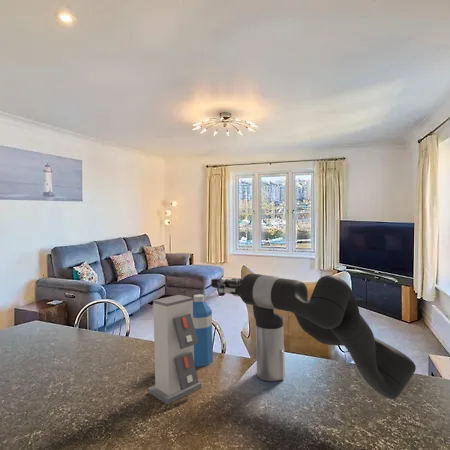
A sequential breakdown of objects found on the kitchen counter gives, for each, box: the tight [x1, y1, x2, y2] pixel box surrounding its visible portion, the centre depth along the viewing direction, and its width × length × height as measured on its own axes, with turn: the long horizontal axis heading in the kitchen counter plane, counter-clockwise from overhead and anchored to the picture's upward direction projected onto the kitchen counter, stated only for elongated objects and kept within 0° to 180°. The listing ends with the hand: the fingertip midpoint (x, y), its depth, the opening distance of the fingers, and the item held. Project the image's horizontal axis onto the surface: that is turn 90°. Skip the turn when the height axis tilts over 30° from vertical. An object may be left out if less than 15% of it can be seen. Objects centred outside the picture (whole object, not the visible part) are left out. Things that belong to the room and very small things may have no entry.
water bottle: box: [193, 293, 214, 368], centre depth 125 cm, size 9×9×25 cm
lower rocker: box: [174, 352, 199, 390], centre depth 100 cm, size 1×6×9 cm, turn 136°
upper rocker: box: [173, 314, 198, 349], centre depth 100 cm, size 1×6×9 cm, turn 136°
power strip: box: [148, 294, 202, 405], centre depth 104 cm, size 10×13×29 cm
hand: (213, 282), depth 91 cm, fingers closed
